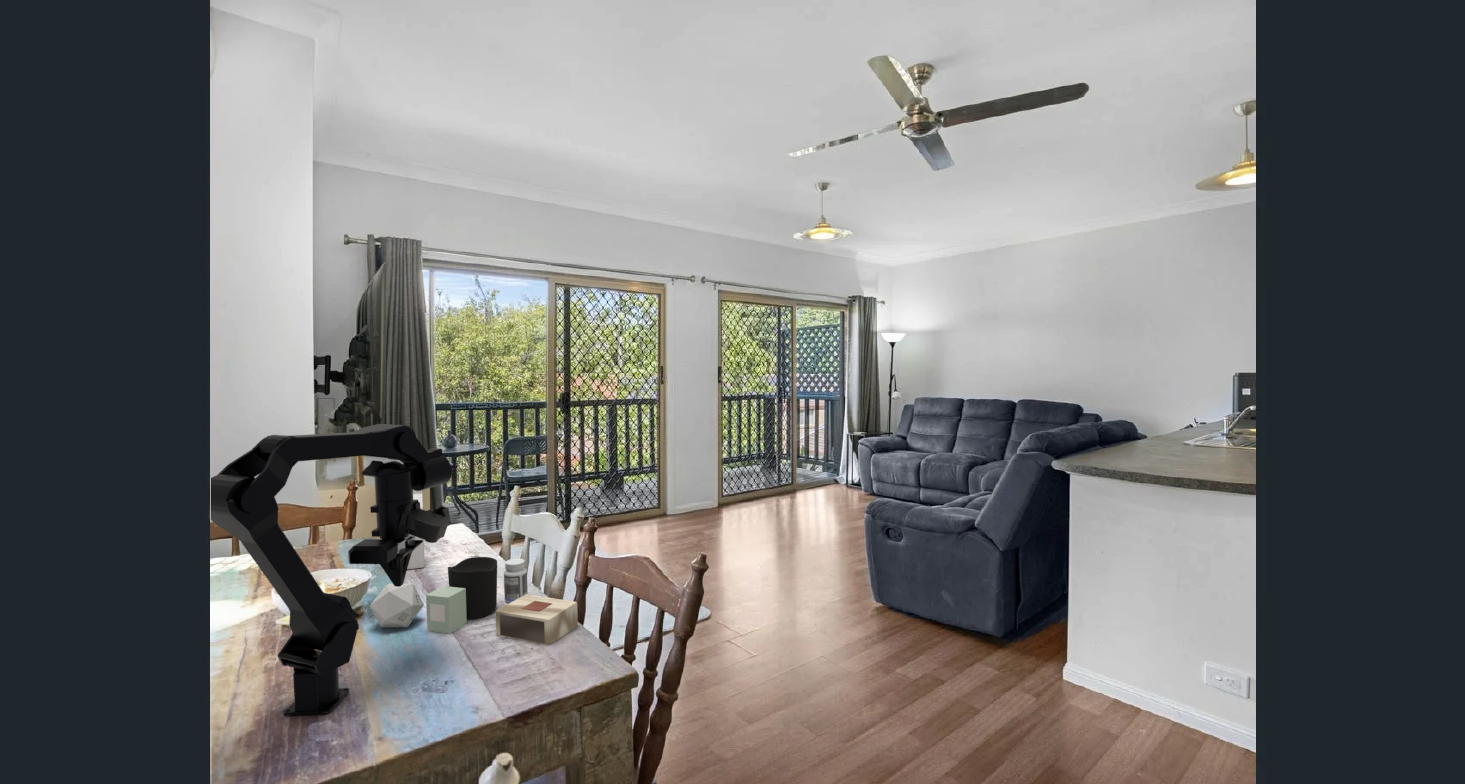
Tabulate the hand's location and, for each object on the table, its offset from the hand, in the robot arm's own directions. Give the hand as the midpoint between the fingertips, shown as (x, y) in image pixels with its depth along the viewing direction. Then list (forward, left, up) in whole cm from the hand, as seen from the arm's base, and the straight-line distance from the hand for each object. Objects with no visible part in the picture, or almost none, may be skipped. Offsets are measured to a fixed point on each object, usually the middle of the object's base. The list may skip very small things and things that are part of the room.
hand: (398, 585), depth 113 cm
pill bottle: (+26, -13, -13) cm, 32 cm away
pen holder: (+20, -6, -13) cm, 25 cm away
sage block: (+13, -3, -13) cm, 19 cm away
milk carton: (+51, +19, -13) cm, 56 cm away
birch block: (+6, -19, -11) cm, 23 cm away
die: (+15, +7, -13) cm, 21 cm away
